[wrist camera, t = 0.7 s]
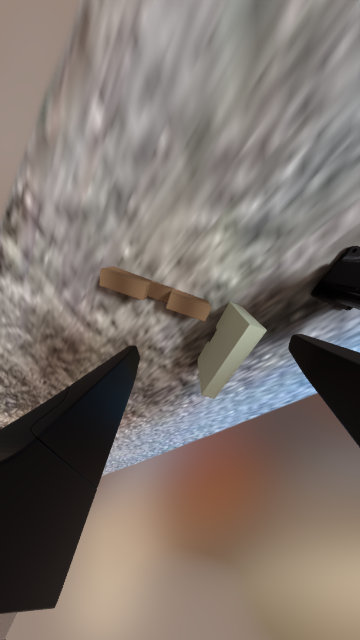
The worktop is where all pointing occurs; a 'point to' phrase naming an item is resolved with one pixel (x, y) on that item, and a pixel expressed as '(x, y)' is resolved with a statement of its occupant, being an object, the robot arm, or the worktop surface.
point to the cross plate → (227, 348)
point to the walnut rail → (154, 292)
